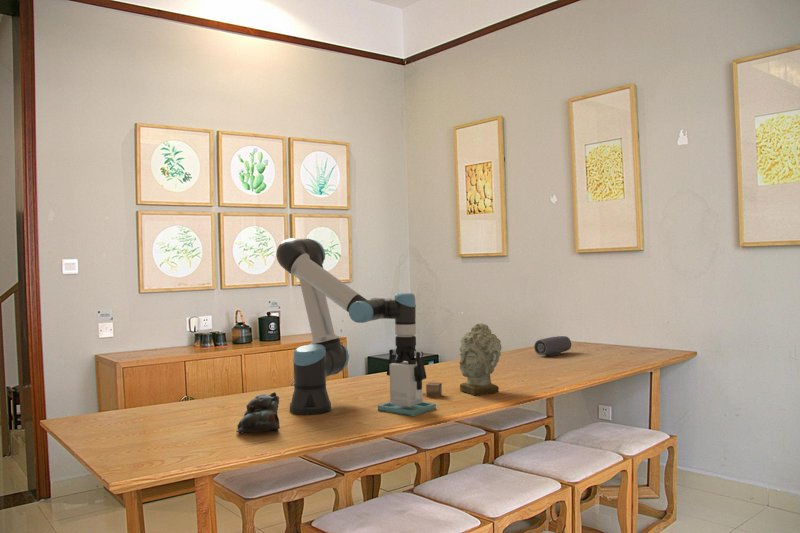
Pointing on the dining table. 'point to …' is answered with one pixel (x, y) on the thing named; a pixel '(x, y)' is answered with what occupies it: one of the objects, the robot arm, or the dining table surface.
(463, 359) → the buddha head
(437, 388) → the walnut block
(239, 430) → the lucky cat figurine
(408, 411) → the tray
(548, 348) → the bluetooth speaker
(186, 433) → the dining table surface
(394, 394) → the supplement box
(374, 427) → the dining table surface
